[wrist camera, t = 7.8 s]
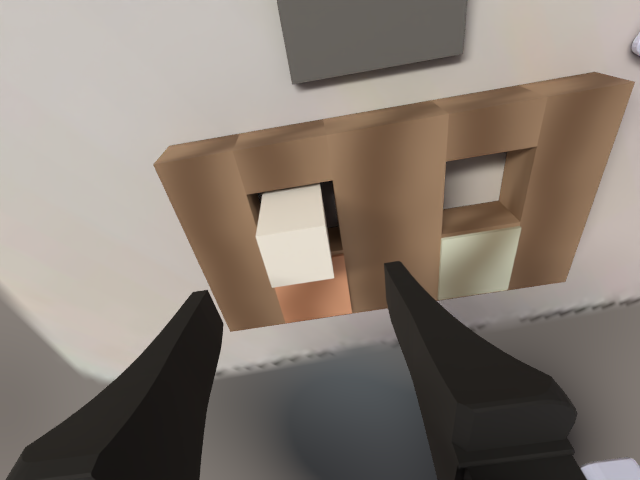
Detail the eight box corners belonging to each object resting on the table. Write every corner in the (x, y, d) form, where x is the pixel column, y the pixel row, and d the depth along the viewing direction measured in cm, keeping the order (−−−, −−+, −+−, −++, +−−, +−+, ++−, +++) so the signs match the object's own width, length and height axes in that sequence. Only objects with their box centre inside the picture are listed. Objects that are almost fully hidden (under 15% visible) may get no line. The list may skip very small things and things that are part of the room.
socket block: (594, 72, 17) (638, 82, 15) (542, 257, 24) (567, 283, 22) (169, 145, 18) (152, 166, 16) (235, 304, 25) (230, 334, 23)
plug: (317, 167, 19) (325, 225, 15) (325, 213, 21) (334, 278, 16) (265, 176, 20) (255, 236, 15) (277, 220, 21) (271, 287, 16)
